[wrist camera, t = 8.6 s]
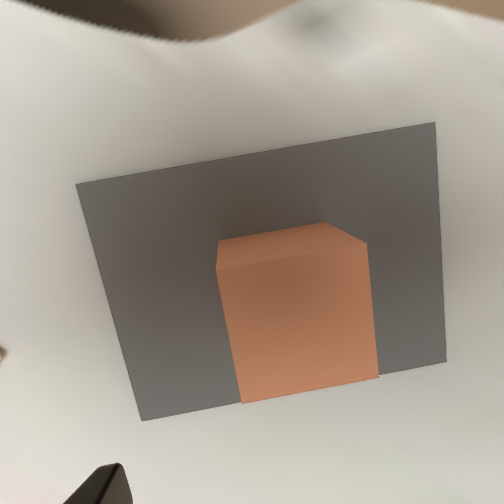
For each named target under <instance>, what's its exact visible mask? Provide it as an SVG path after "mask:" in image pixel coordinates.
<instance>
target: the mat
mask: <svg viewBox="0 0 504 504" xmlns="http://www.w3.org/2000/svg"><path fill="white" fill-rule="evenodd" d="M75 185H76V188H77V192H78V195H79V199H80V202H81V206H82V210H83V213H84V217H85V220H86V224H87V227H88V231H89V235H90V238H91V242H92V245H93V249H94V253H95V256H96V260H97V263H98V267H99V270H100V274H101V278H102V281H103V285H104V288H105V292H106V295H107V299H108V303H109V306H110V310H111V313H112V317H113V321H114V324H115V328H116V331H117V335H118V338H119V342H120V346H121V349H122V353H123V356H124V360H125V363H126V367H127V371H128V374H129V378H130V381H131V385H132V388H133V392H134V396H135V399H136V403H137V406H138V410H139V414H140V417H141V421H147V420H152V419H157V418H162V417H167V416H173V415H178V414H183V413H188V412H193V411H198V410H203V409H208V408H213V407H219V406H224V405H229V404H234V403H239V402H241V397H240V392H239V387H238V382H237V377H236V371H235V366H234V361H233V356H232V351H231V346H230V341H229V336H228V330H227V325H226V320H225V315H224V310H223V305H222V300H221V295H220V290H219V284H218V279H217V274H216V262H217V251H218V241H219V240H225V239H231V238H236V237H242V236H248V235H253V234H259V233H265V232H270V231H276V230H282V229H288V228H293V227H299V226H305V225H310V224H316V223H322V222H327V223H328V224H330V225H332V226H334V227H336V228H338V229H340V230H342V231H344V232H346V233H348V234H350V235H352V236H354V237H356V238H358V239H359V240H361V241H363V242H365V243H367V252H368V263H369V274H370V285H371V296H372V307H373V318H374V329H375V339H376V350H377V361H378V372H379V375H382V374H387V373H392V372H397V371H402V370H408V369H413V368H418V367H423V366H428V365H433V364H438V363H443V362H447V359H446V338H445V317H444V296H443V275H442V254H441V233H440V212H439V191H438V170H437V149H436V128H435V122H432V123H426V124H421V125H415V126H409V127H403V128H397V129H392V130H386V131H380V132H374V133H369V134H363V135H357V136H351V137H345V138H340V139H334V140H328V141H322V142H317V143H311V144H305V145H299V146H293V147H288V148H282V149H276V150H270V151H265V152H259V153H253V154H247V155H242V156H236V157H230V158H224V159H218V160H213V161H207V162H201V163H195V164H190V165H184V166H178V167H172V168H166V169H161V170H155V171H149V172H143V173H138V174H132V175H126V176H120V177H114V178H109V179H103V180H97V181H91V182H86V183H80V184H75Z"/></svg>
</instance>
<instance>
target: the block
mask: <svg viewBox="0 0 504 504" xmlns="http://www.w3.org/2000/svg"><path fill="white" fill-rule="evenodd" d="M216 274H217V279H218V284H219V290H220V295H221V300H222V305H223V310H224V315H225V320H226V325H227V330H228V336H229V341H230V346H231V351H232V356H233V361H234V366H235V371H236V377H237V382H238V387H239V392H240V397H241V402H242V404H244V403H249V402H254V401H259V400H265V399H270V398H275V397H280V396H285V395H291V394H296V393H301V392H306V391H312V390H317V389H322V388H327V387H333V386H338V385H343V384H348V383H353V382H359V381H364V380H369V379H374V378H379V372H378V361H377V350H376V339H375V329H374V318H373V307H372V296H371V285H370V274H369V263H368V252H367V243H365V242H363V241H361V240H359V239H358V238H356V237H354V236H352V235H350V234H348V233H346V232H344V231H342V230H340V229H338V228H336V227H334V226H332V225H330V224H328V223H327V222H322V223H316V224H310V225H305V226H299V227H293V228H288V229H282V230H276V231H270V232H265V233H259V234H253V235H248V236H242V237H236V238H231V239H225V240H219V241H218V251H217V262H216Z"/></svg>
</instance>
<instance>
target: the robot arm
mask: <svg viewBox="0 0 504 504" xmlns="http://www.w3.org/2000/svg"><path fill="white" fill-rule="evenodd" d="M63 504H133V499H132V494H131V491H130V487H129V484H128V481H127V477H126V474H125V471H124V468H123V466H122V465H121V464H120V463H114V464H109V465H104V466H101V467H99V468H97V469H96V470H95V471H94V472H93V473H92V474H91V475H90V476H89V477H88V478H87V479H86V481H85V482H84V483H83V484H82V485H81V486H80V487H79V488H78V489H77V490H76V491H75V492H74V493H73V494H72V495H71V496H70V497H69V498H68V499H67V500H66V501H65V502H64V503H63Z"/></svg>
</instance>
